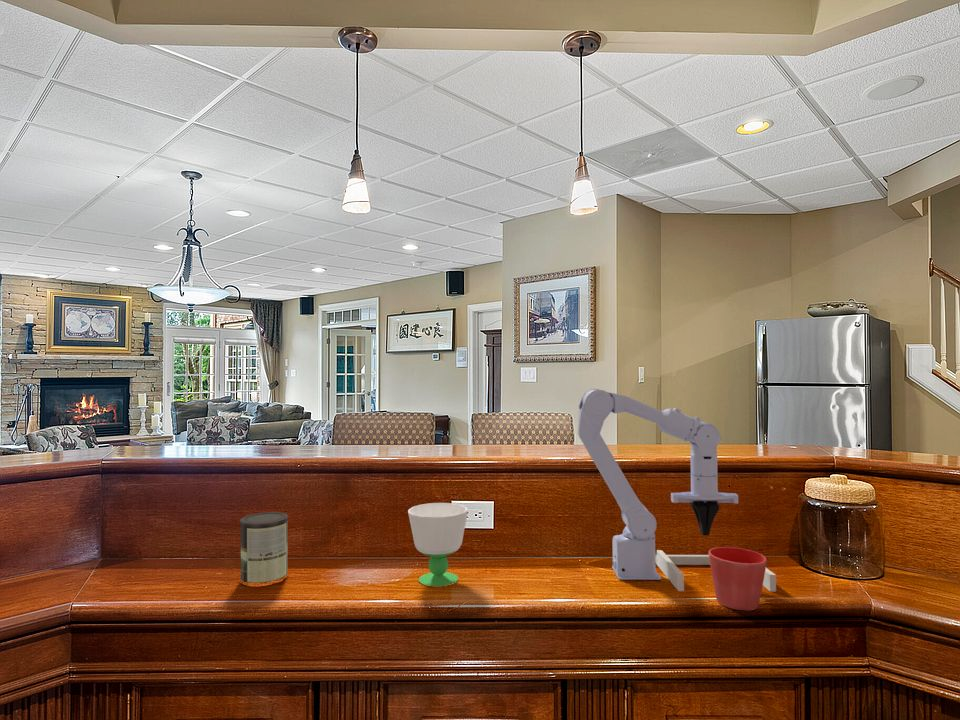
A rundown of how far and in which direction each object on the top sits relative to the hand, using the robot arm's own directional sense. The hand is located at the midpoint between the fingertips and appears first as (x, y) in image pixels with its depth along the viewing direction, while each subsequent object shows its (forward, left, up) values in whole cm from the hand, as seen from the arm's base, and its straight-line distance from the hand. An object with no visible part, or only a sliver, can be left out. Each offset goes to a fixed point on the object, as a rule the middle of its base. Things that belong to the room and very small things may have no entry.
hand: (704, 534), depth 129 cm
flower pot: (+1, -15, -10) cm, 18 cm away
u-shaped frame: (+1, -1, -9) cm, 9 cm away
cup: (-61, -3, -10) cm, 62 cm away
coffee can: (-101, -3, -10) cm, 101 cm away
